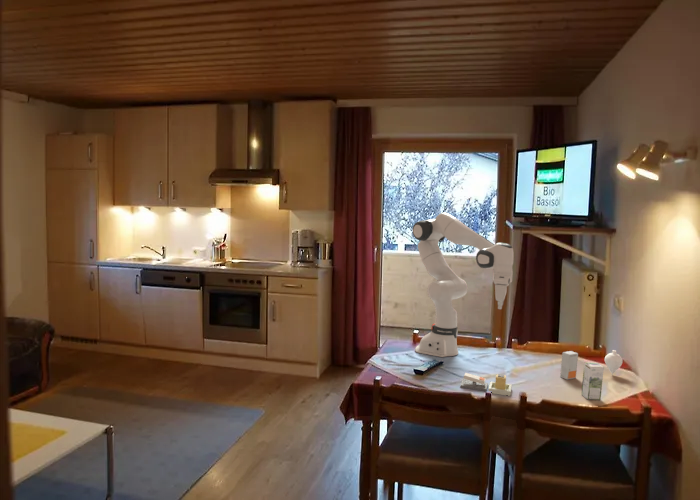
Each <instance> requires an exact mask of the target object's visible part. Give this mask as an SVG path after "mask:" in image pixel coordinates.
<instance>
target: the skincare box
mask: <svg viewBox="0 0 700 500" xmlns="http://www.w3.org/2000/svg"><path fill="white" fill-rule="evenodd" d="M578 360H579V353H578V352H576V351H575V352H574V351H573V350H569V351H568V350H567V351H563V352H562V353H561V361H560V362H561V363H560V376H559V377H560V378H562V379H565V380H572V379H576V378H577V371H578V370H577V369H578Z"/></svg>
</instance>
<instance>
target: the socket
mask: <svg viewBox="0 0 700 500" xmlns="http://www.w3.org/2000/svg"><path fill="white" fill-rule="evenodd" d="M495 382H496V381H490V382H489V384H488V388H487V390H488V391H492V393H491V394H494V395H502V396H506V395H508V396H507V397H511V395H512V389H513V387H512V386H513V385H512V383H511V384H510V383H506V385H505V390H503V389H496V388H495Z"/></svg>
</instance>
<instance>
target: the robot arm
mask: <svg viewBox="0 0 700 500" xmlns="http://www.w3.org/2000/svg"><path fill="white" fill-rule="evenodd" d="M412 235H413V237H414V239H416V240H417V241H419V242H418V243H417V244H418V245H417V250H418V252H419V256H420V258H421V261H422V263H423V264H424V268H425V269H426V272H427V273H428V275H429V276H430V277H432V278H434V279H435V281H432V282H431V283H430V284H428V287H427V295H428V298H429V299H431V301H432V302H433V304H434V308H435V322H434V323H433V324H432V325H431V328H430V329H431V331H430V332H429V333H427V334H425V335H424V336H422V338H421V339H420V341H419V344H418V345H416V347H415V349H414V351H415V353H418V354H423V355H429V356H434V357H438V358H439V357H440V358H446V357H452V356H453V357H454V356H457V355H459V350H458V344H457V343H458V342H457V338H458V311H457V310H456V309H455V308H454V305H453V300H457V299H460V298H463V297H465V296H466V295H467V293H468V291H469V287H468V284H467V282H466V280H464V279H463V278H461V277H459V276H458V275H457V274H456V272H454V270H452V268H451V267H450V266H449V264H448V262H447V260H446V259H445V257H444V254H443V253H442V251H441V249H440V247H439V243H442V242H443V241H444V239H446V240H448V241H449V242H451V243H453V244H455V245H461V246H469V247H474V248H476V249H478V251H477V253H476V256H475V261H476V264H477V266H478V267H479V268H480V269H492V282H493V284H494V290H495V291H494V295H495V301H496V302H497V309H498V310H502V309H503V306H504V302H505V299H506V295H507V291H508V287H509V286H510V284H511V283H512V282H513V275H514V274H513V273H514V271H513V265H514V258H515V257H514V255H515V254H514V248H513V245H511V244H510V243H506V242H497V243H493V242H492V241H490V240H488V239H487V238H485V237H484V236H482V235H481V234H479V232H478V233H477V231H474V230H473V229H471V228H470V227H469V226H467V225H466V224H464V223H463V222H462V221H461V220H459V218H457V217H455V216H453V215H452V214H450V213H447V212H441V213H438V215H436V217H435V218H430V219H425V220H418V221H416V222H415V223H414V224H413V226H412Z"/></svg>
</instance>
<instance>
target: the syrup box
mask: <svg viewBox="0 0 700 500" xmlns="http://www.w3.org/2000/svg"><path fill="white" fill-rule="evenodd" d="M604 368H605V367H604V366H603V365H602V364H600V363H598V362H584V364H583V373H582V374H583V375H582V383H581V384H582V385H581V396H582V397H584V399H586V400H589V401H590V400H591V401H593V400H595V401H596V400H597V401H600V400H601V397H602V389H603V388H602V387H603V379H604Z"/></svg>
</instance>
